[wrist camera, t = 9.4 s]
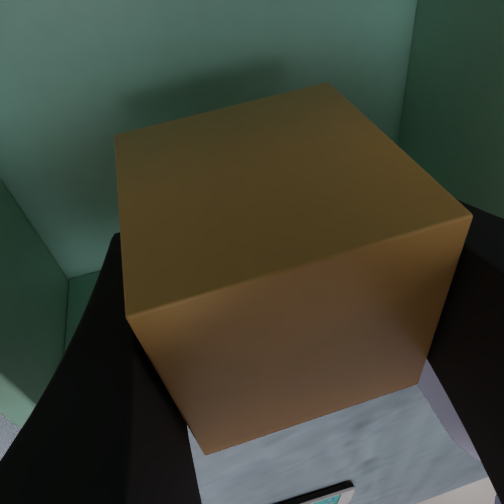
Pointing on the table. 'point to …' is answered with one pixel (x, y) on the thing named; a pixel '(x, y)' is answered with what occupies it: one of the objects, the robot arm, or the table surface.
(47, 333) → the green storage bin
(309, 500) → the smartphone
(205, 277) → the orange cube
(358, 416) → the table surface
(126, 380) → the robot arm
